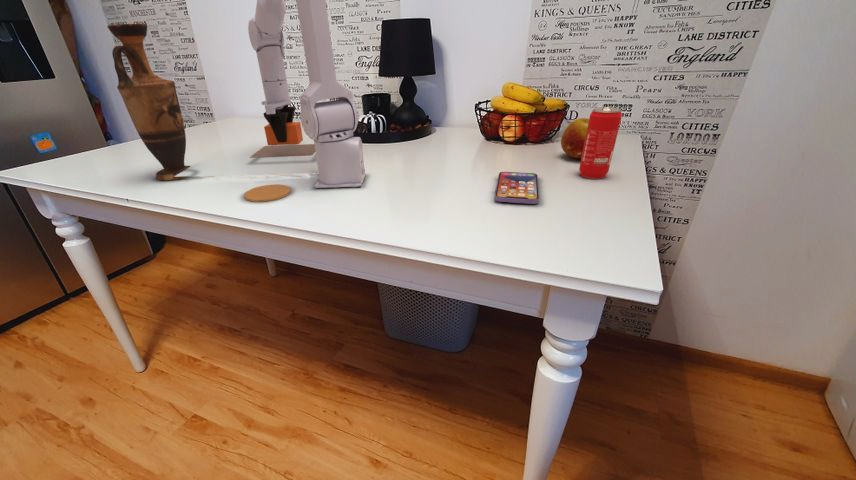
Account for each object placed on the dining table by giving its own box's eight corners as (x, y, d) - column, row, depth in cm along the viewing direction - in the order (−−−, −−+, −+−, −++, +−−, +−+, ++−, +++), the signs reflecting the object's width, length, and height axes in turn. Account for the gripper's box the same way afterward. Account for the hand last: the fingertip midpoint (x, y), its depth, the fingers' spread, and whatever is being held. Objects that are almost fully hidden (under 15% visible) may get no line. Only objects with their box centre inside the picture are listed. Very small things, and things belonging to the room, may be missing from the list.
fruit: (603, 164, 84) (613, 124, 80) (557, 162, 87) (564, 123, 82) (601, 152, 91) (609, 115, 87) (558, 151, 94) (564, 115, 90)
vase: (188, 166, 100) (144, 25, 85) (209, 173, 94) (165, 22, 78) (143, 177, 94) (86, 26, 78) (163, 185, 87) (104, 23, 72)
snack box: (303, 140, 104) (300, 121, 101) (298, 144, 100) (295, 125, 97) (273, 141, 104) (269, 123, 102) (267, 145, 100) (263, 126, 98)
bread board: (322, 149, 108) (322, 143, 108) (313, 161, 98) (312, 155, 97) (265, 151, 110) (264, 146, 109) (250, 163, 99) (248, 157, 99)
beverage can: (578, 178, 77) (591, 111, 71) (578, 170, 81) (590, 107, 75) (607, 180, 75) (624, 112, 69) (606, 172, 79) (622, 107, 73)
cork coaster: (295, 185, 82) (295, 183, 82) (283, 201, 75) (283, 199, 75) (253, 187, 83) (253, 185, 83) (237, 202, 76) (236, 200, 75)
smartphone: (537, 177, 79) (538, 205, 66) (498, 175, 80) (493, 202, 68) (537, 173, 78) (539, 200, 66) (499, 171, 80) (494, 197, 68)
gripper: (267, 78, 101) (278, 134, 108) (247, 84, 89) (260, 147, 96) (294, 77, 100) (303, 133, 108) (277, 83, 88) (289, 146, 95)
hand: (285, 139), depth 102 cm, fingers closed on snack box, 4 cm apart
